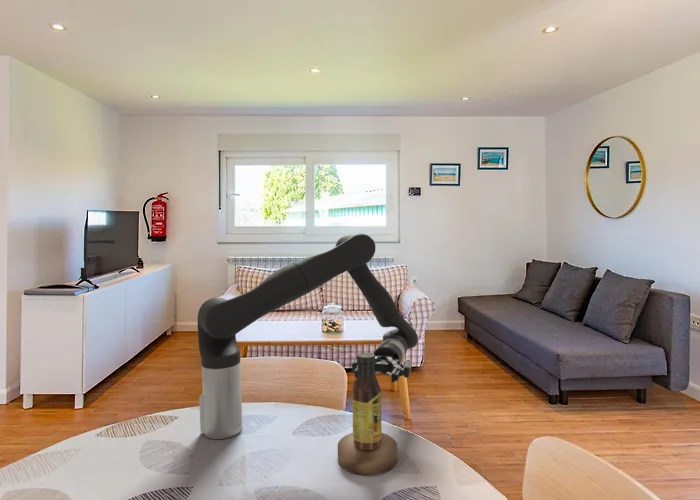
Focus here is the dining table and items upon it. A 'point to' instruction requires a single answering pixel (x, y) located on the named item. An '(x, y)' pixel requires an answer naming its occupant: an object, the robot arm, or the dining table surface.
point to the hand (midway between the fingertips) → (375, 376)
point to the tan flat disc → (367, 456)
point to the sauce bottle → (366, 405)
